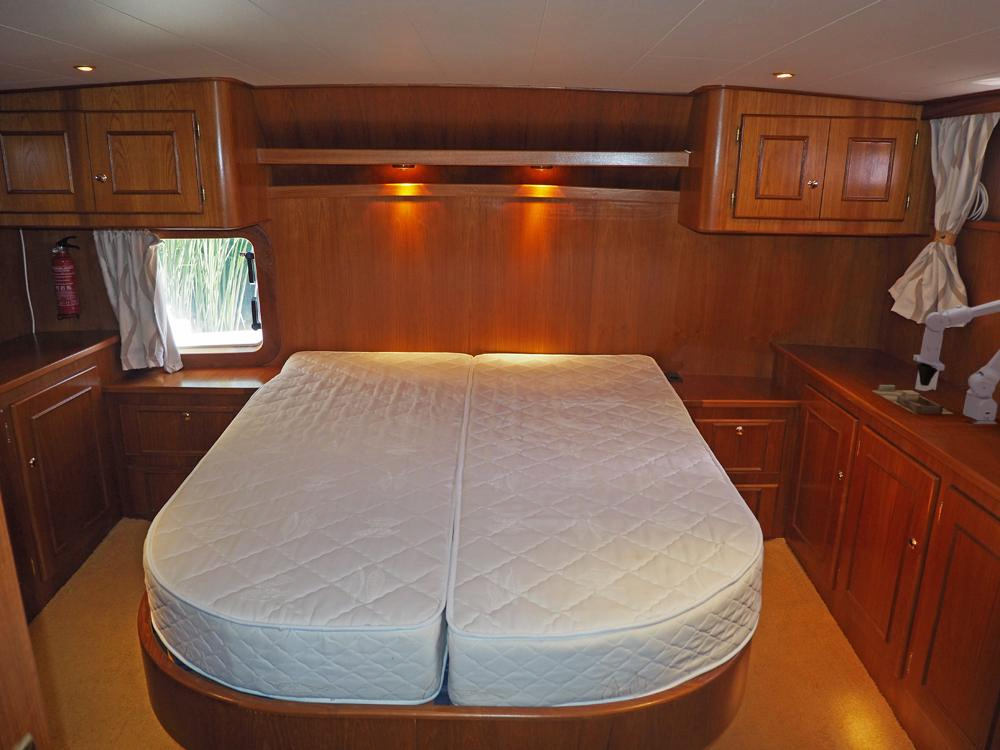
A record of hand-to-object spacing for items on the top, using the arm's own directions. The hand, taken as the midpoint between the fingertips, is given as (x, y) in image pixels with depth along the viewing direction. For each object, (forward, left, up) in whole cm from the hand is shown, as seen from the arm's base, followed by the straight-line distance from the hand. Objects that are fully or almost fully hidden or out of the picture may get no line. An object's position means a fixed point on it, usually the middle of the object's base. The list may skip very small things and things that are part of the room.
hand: (924, 385), depth 249 cm
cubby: (+1, 0, -9) cm, 9 cm away
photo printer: (+26, -18, -10) cm, 33 cm away
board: (+9, -2, -10) cm, 14 cm away
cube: (+7, 0, -9) cm, 11 cm away
